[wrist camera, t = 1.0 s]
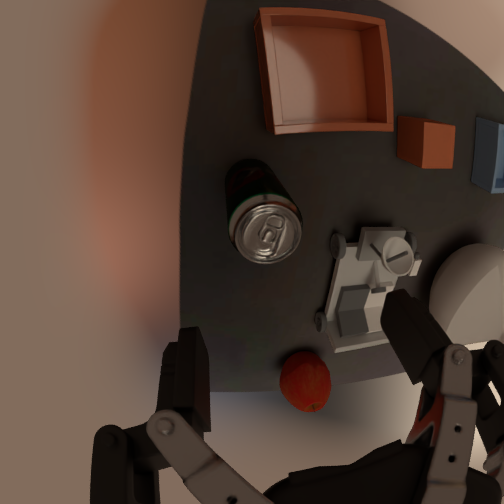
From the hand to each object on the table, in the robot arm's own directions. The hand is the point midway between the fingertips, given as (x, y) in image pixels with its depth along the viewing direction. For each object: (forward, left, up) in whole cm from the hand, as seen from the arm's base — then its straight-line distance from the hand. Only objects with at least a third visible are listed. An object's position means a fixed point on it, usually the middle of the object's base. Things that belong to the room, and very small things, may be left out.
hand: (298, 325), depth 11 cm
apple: (+31, +5, -20) cm, 37 cm away
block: (-4, +20, -20) cm, 28 cm away
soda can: (0, 0, -20) cm, 20 cm away
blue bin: (-3, +38, -20) cm, 43 cm away
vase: (+19, +34, -20) cm, 44 cm away
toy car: (+14, +14, -20) cm, 28 cm away
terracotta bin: (-11, +8, -20) cm, 24 cm away
